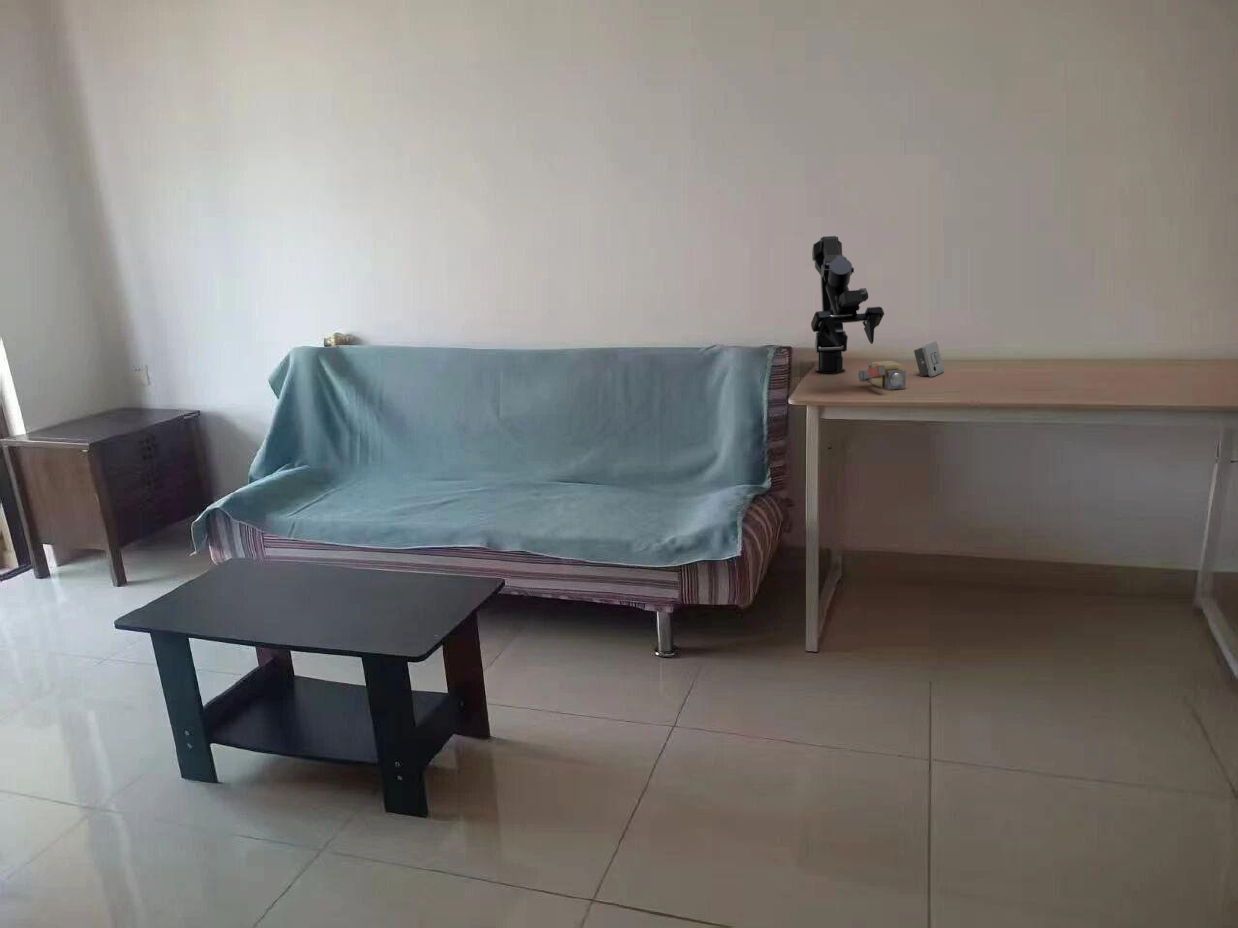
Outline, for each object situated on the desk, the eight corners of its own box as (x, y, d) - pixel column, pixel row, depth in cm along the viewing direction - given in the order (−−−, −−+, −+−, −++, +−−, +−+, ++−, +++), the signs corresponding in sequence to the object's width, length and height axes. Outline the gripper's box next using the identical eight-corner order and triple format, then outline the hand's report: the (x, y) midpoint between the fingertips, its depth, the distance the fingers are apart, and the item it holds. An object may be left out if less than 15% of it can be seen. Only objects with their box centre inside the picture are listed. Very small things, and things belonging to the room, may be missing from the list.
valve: (857, 381, 270) (858, 360, 268) (884, 379, 271) (885, 358, 269) (879, 391, 255) (880, 369, 254) (908, 388, 256) (908, 366, 255)
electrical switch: (932, 378, 269) (930, 345, 267) (914, 378, 273) (912, 346, 271) (944, 372, 276) (942, 340, 274) (927, 373, 280) (925, 341, 278)
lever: (857, 371, 263) (877, 364, 249) (865, 371, 263) (884, 364, 250) (858, 382, 263) (878, 376, 249) (866, 381, 263) (885, 375, 250)
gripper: (814, 281, 252) (829, 328, 244) (882, 276, 254) (898, 322, 247) (804, 308, 261) (818, 354, 254) (869, 302, 264) (885, 348, 256)
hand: (855, 344), depth 252 cm, fingers open, 9 cm apart
